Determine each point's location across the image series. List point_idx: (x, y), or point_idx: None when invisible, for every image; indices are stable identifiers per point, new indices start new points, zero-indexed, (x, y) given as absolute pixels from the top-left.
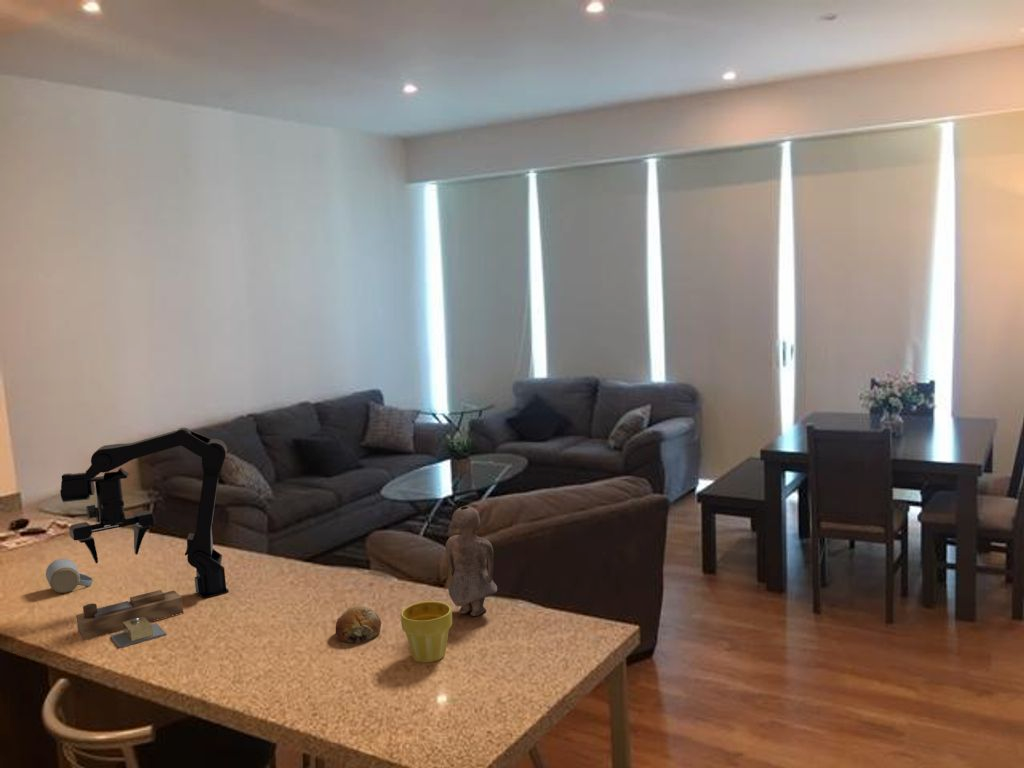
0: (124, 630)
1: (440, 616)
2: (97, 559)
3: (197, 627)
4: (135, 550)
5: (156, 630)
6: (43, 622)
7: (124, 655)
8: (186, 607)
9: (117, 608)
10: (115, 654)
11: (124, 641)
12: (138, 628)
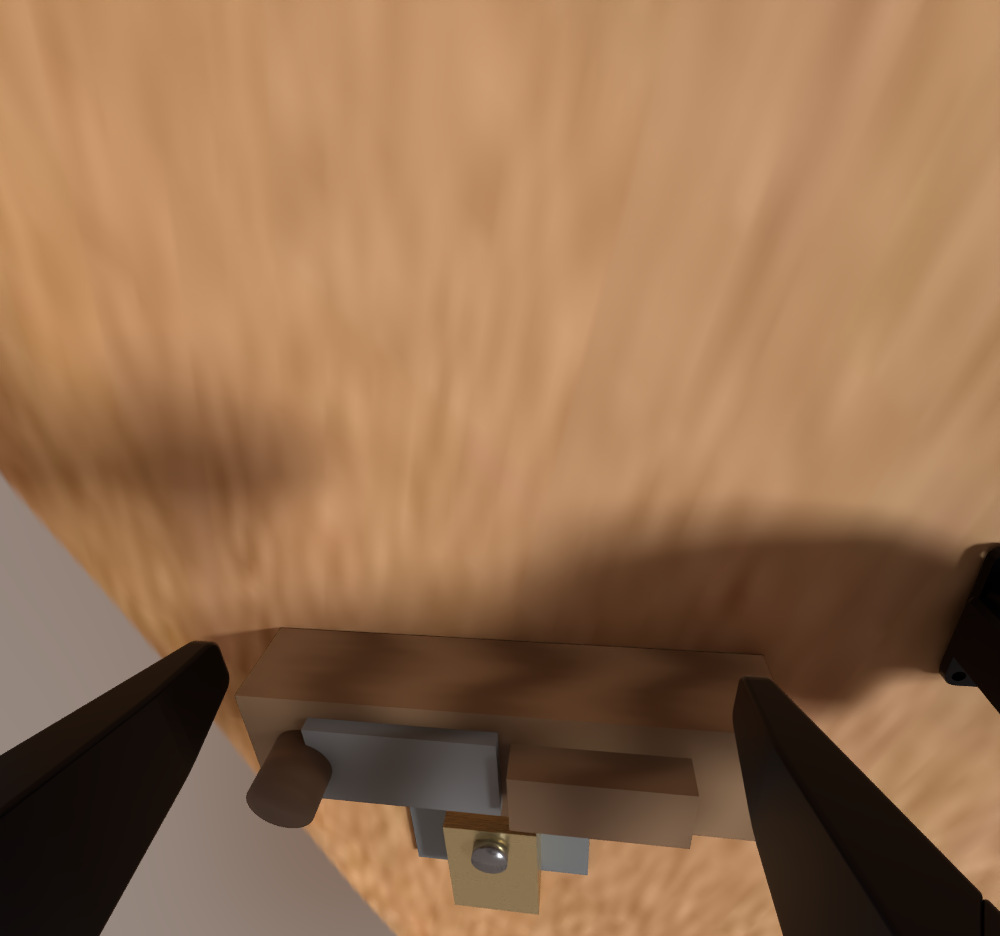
0: None
1: None
2: (199, 742)
3: (706, 885)
4: (749, 780)
5: (566, 837)
6: (86, 377)
7: (428, 892)
8: None
9: (429, 795)
10: (403, 872)
11: (441, 839)
12: (486, 904)
